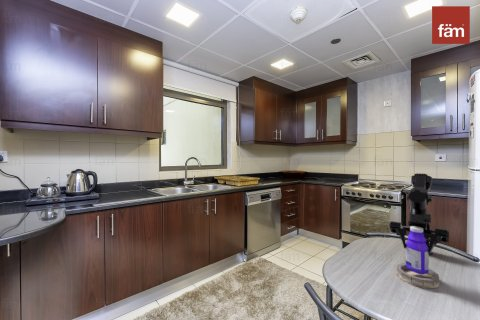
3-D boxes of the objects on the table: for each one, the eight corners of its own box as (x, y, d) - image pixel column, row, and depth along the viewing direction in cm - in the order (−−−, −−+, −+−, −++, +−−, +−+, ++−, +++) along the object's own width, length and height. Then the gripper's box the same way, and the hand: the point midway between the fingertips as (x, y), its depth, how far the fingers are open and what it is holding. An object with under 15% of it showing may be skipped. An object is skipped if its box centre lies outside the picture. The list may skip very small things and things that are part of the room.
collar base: (390, 269, 94) (390, 262, 94) (424, 271, 92) (424, 264, 92) (409, 287, 81) (409, 279, 81) (448, 289, 79) (448, 281, 79)
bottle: (432, 274, 84) (431, 229, 84) (421, 276, 83) (420, 231, 82) (413, 265, 91) (412, 224, 91) (402, 267, 90) (401, 225, 89)
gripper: (389, 202, 96) (385, 235, 88) (448, 208, 83) (450, 247, 75) (392, 216, 102) (389, 247, 94) (447, 224, 89) (449, 261, 81)
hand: (416, 250), depth 86 cm, fingers closed on bottle, 7 cm apart
